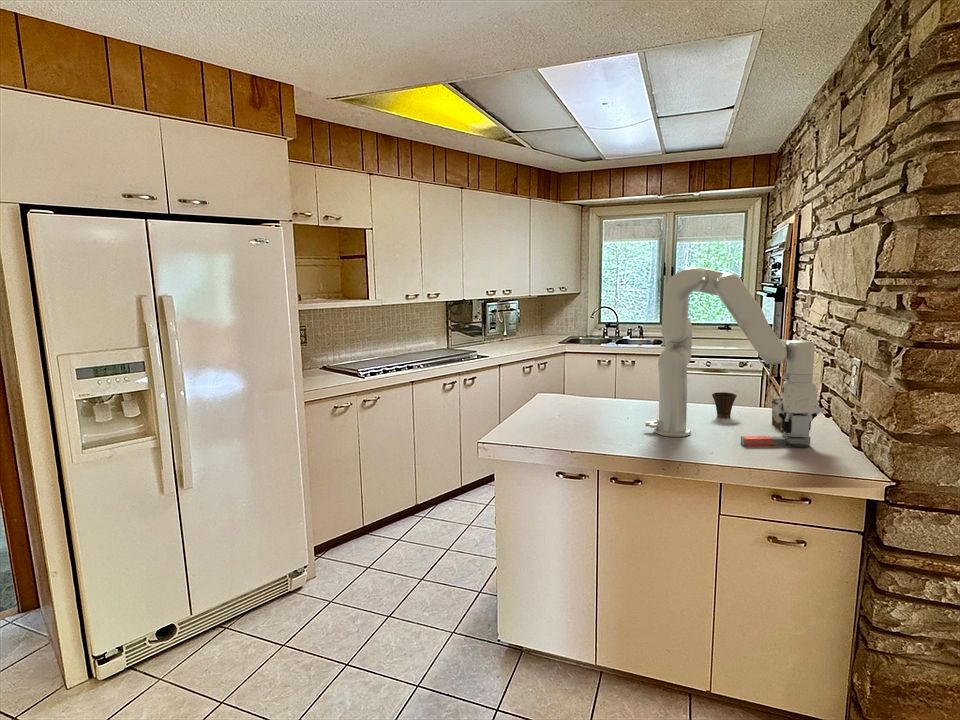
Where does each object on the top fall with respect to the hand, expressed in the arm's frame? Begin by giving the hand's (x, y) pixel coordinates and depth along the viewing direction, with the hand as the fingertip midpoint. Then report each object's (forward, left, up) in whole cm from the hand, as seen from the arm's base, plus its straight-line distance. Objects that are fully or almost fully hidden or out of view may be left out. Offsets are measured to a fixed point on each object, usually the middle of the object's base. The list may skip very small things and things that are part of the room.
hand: (796, 431), depth 176 cm
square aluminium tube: (0, 0, -1) cm, 1 cm away
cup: (-11, +36, -5) cm, 38 cm away
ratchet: (-6, 0, -4) cm, 8 cm away
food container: (+5, +19, -5) cm, 20 cm away
